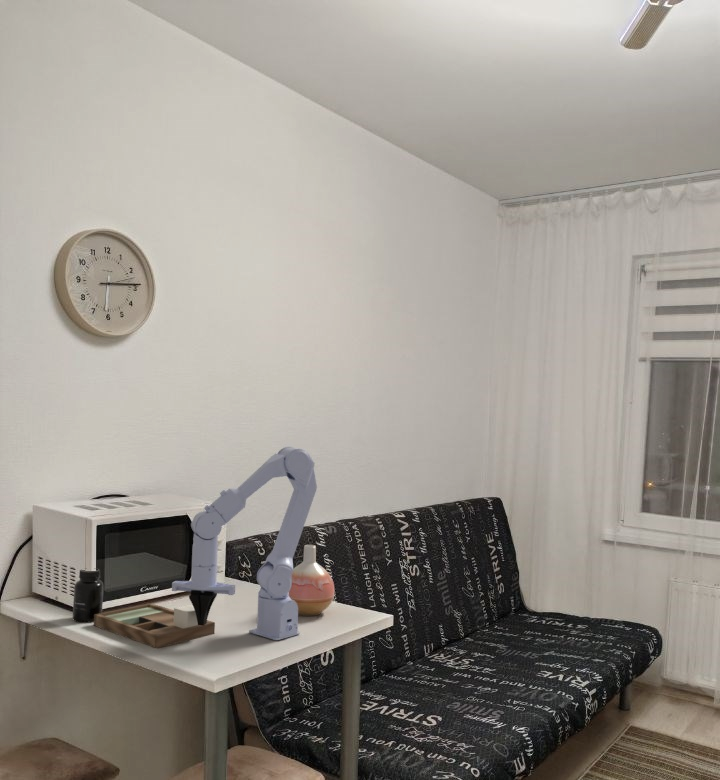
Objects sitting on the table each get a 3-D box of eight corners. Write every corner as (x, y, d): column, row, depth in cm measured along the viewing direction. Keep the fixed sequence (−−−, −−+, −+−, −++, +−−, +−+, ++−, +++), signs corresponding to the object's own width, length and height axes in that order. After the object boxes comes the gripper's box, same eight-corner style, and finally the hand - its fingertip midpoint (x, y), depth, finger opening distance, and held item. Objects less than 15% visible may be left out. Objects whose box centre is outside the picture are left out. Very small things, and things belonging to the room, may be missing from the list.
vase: (310, 623, 193) (312, 552, 193) (270, 613, 201) (273, 545, 202) (344, 613, 204) (346, 545, 204) (305, 604, 212) (307, 539, 213)
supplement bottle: (71, 623, 186) (73, 573, 186) (73, 616, 192) (75, 567, 193) (101, 622, 188) (103, 572, 188) (102, 615, 194) (104, 566, 195)
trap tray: (214, 633, 181) (214, 622, 181) (157, 648, 169) (157, 636, 169) (150, 613, 197) (150, 603, 197) (93, 625, 185) (94, 614, 185)
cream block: (204, 625, 180) (205, 608, 181) (187, 629, 177) (187, 612, 177) (190, 621, 184) (191, 604, 184) (173, 625, 180) (174, 608, 180)
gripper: (240, 563, 181) (237, 621, 180) (180, 559, 183) (178, 617, 182) (230, 569, 174) (228, 630, 173) (169, 565, 176) (166, 625, 175)
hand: (202, 624), depth 177 cm, fingers closed
